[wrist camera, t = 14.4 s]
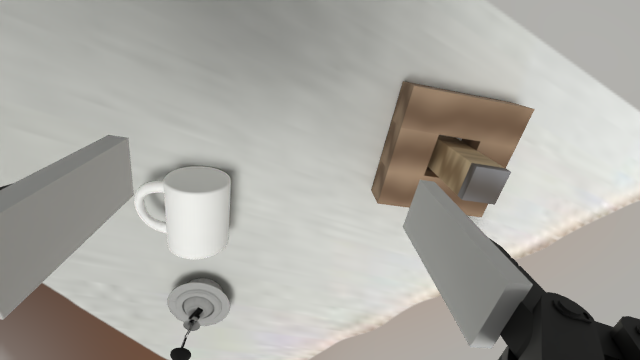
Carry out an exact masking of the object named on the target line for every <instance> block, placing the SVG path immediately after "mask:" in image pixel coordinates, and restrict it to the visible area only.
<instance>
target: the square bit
mask: <svg viewBox="0 0 640 360" xmlns="http://www.w3.org/2000/svg"><path fill="white" fill-rule="evenodd" d="M428 167H429V168H430V169H431V170H432V171H433V172H434V173H435V174H436V175H437V176H438V177H439V178H440V179H441V180H442V181H443V182H444V183H445V184H446V185H447V186H448V187H449V188H450V189H451V190H452V191H453V192H454V193H455V194H456V195H457V196H458V197H460V198H461V199H462V200H466V201H473V202H481V203H488V204H495V203H496V201H497V199H498V197H499V195H500V193H501V191H502V189H503V187H504V185H505V183H506V181H507V179H508V177H509V175H510V173H511V172H510V171H509V170H507V169H506V168H504V167H502V166H501V165H499V164H497V163H496V162H494V161H493V160H491V159H489V158H488V157H486V156H485V155H483V154H481V153H480V152H478V151H476V150H475V149H473V148H472V147H470V146H468V145H467V144H465V143H464V142H462V141H460V140H459V139H457V138H454V137H449V136H443V135H439V136H438V139H437V141H436V144H435V147H434V150H433V152H432V155H431V158H430V160H429V163H428Z"/></svg>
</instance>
